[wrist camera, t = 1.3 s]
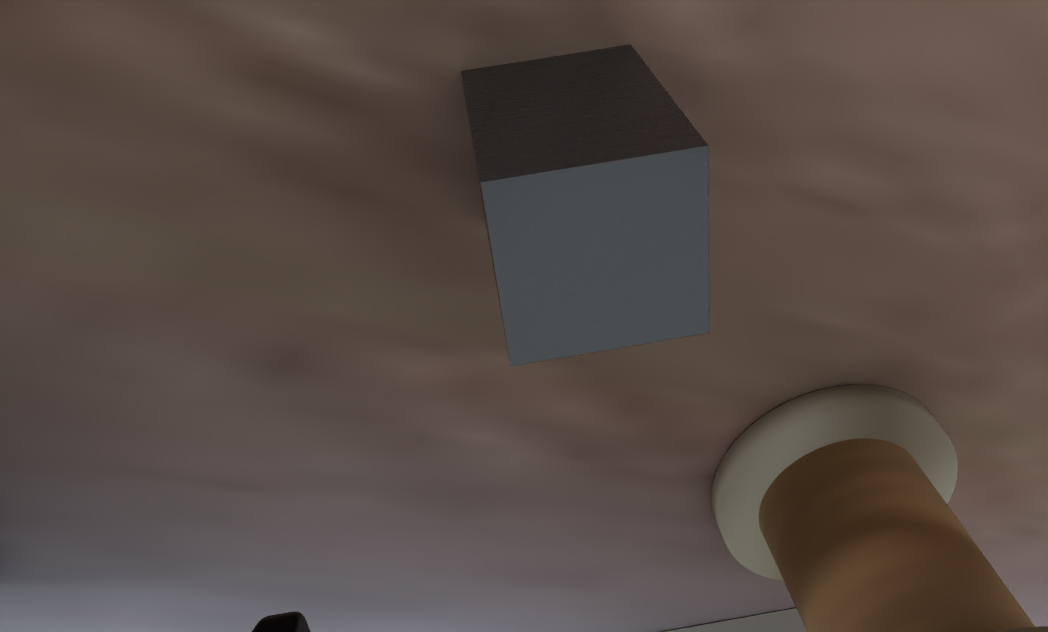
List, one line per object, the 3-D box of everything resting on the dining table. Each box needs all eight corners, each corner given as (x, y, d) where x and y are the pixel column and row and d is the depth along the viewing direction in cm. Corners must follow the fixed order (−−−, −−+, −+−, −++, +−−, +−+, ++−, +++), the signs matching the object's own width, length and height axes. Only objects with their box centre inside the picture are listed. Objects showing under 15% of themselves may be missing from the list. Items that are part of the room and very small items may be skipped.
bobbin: (711, 574, 28) (824, 878, 20) (710, 407, 24) (851, 708, 16) (923, 537, 28) (1112, 824, 21) (957, 365, 24) (1206, 643, 17)
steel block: (486, 223, 20) (510, 366, 15) (460, 71, 18) (480, 182, 13) (638, 198, 20) (708, 332, 16) (630, 44, 18) (708, 145, 14)
